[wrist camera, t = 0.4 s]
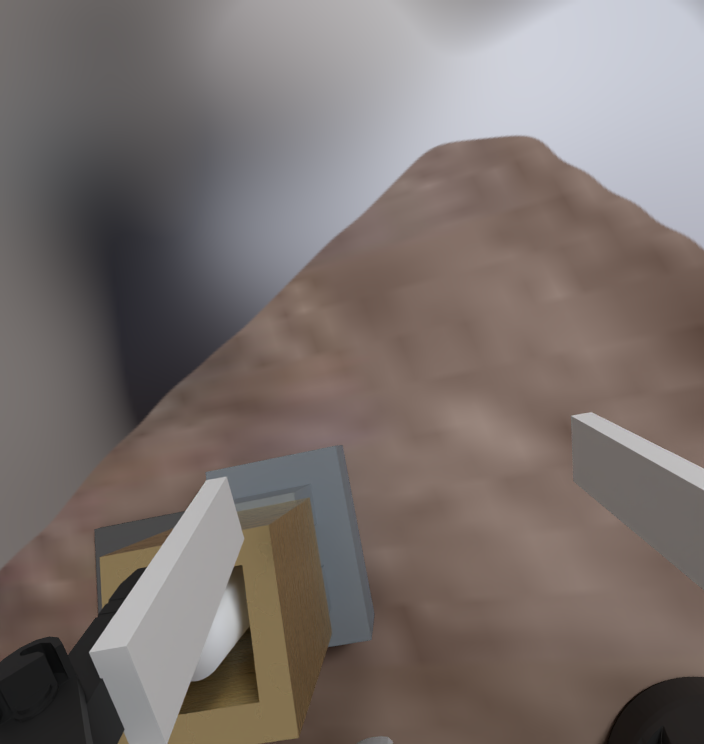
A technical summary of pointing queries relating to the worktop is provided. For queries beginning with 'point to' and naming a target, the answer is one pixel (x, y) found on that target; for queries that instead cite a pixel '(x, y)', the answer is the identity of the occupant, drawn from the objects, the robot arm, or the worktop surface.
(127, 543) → the rubber mat
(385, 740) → the adjustable wrench
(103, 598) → the brass collar
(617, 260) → the worktop surface
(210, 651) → the vise
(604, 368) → the worktop surface
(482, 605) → the worktop surface
